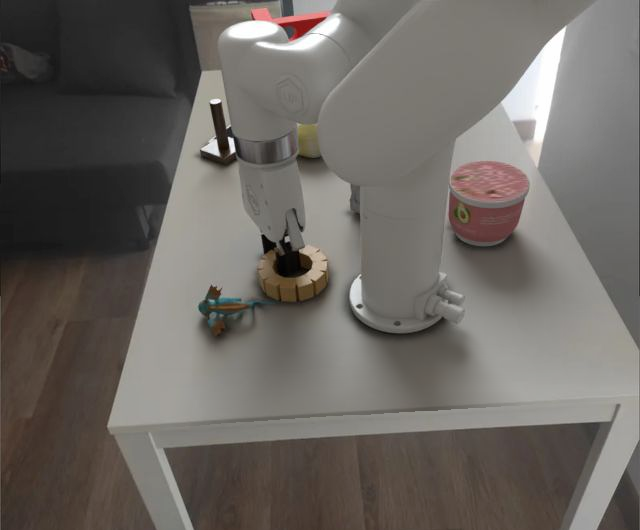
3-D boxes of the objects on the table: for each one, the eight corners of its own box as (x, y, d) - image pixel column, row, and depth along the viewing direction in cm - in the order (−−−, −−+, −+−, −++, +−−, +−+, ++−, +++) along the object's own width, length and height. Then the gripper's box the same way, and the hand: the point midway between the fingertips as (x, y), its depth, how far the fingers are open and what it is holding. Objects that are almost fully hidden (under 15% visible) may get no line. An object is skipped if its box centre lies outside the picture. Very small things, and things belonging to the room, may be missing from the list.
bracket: (259, 28, 118) (250, 9, 125) (265, 81, 126) (256, 61, 133) (349, 15, 121) (336, -2, 127) (349, 68, 128) (337, 49, 135)
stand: (249, 149, 108) (241, 98, 101) (225, 165, 104) (215, 112, 98) (224, 141, 110) (214, 90, 103) (200, 155, 107) (189, 104, 100)
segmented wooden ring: (341, 272, 83) (341, 258, 81) (299, 311, 78) (298, 297, 77) (289, 249, 87) (287, 235, 86) (246, 285, 83) (243, 271, 81)
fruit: (282, 143, 108) (337, 135, 106) (279, 169, 106) (335, 162, 104) (272, 117, 103) (330, 109, 101) (269, 144, 101) (328, 136, 98)
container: (438, 211, 91) (443, 162, 86) (509, 206, 91) (519, 157, 85) (450, 255, 84) (456, 205, 78) (527, 250, 84) (539, 199, 78)
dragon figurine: (240, 274, 82) (189, 282, 77) (275, 277, 77) (223, 286, 72) (244, 322, 84) (194, 332, 79) (279, 328, 79) (228, 340, 74)
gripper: (210, 121, 76) (234, 242, 89) (266, 182, 65) (284, 308, 79) (265, 105, 78) (281, 225, 91) (328, 162, 68) (335, 288, 81)
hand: (282, 262), depth 85 cm, fingers open, 3 cm apart
